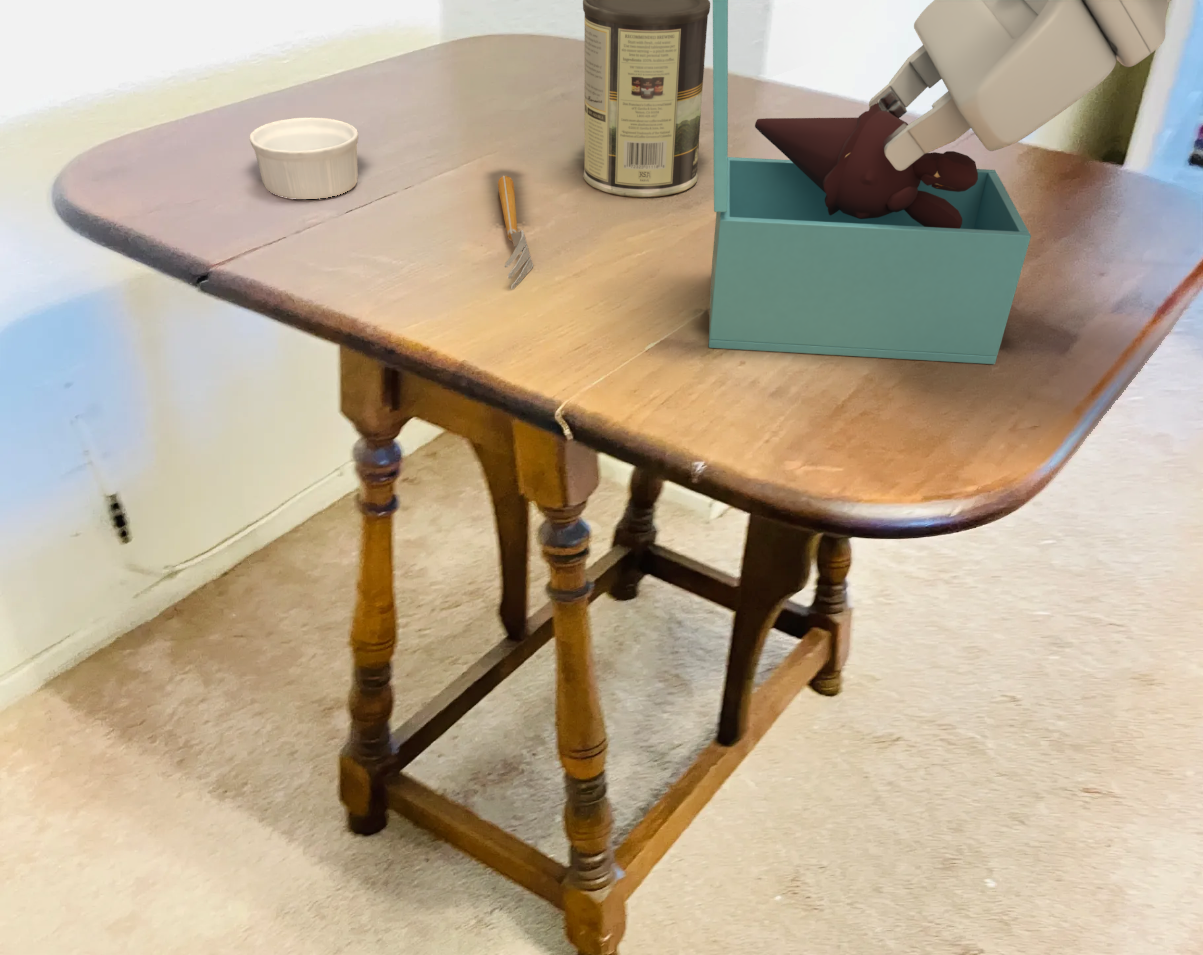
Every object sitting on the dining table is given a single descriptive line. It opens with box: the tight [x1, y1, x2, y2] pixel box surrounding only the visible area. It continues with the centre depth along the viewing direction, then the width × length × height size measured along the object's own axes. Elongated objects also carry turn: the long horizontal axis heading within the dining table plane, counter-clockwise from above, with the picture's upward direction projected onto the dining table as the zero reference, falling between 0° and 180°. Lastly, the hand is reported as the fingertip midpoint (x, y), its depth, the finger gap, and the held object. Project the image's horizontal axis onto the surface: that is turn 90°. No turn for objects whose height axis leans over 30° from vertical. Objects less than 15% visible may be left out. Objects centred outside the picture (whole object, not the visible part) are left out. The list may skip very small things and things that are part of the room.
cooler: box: [708, 156, 1032, 365], centre depth 72 cm, size 19×12×9 cm, turn 85°
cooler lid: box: [712, 0, 729, 213], centre depth 64 cm, size 19×12×1 cm
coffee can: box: [582, 0, 711, 198], centre depth 91 cm, size 10×10×14 cm
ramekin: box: [249, 117, 359, 200], centre depth 92 cm, size 9×9×4 cm
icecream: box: [754, 103, 978, 229], centre depth 69 cm, size 7×7×15 cm
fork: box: [497, 175, 534, 290], centre depth 85 cm, size 2×2×20 cm
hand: (881, 137), depth 67 cm, fingers closed on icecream, 7 cm apart
